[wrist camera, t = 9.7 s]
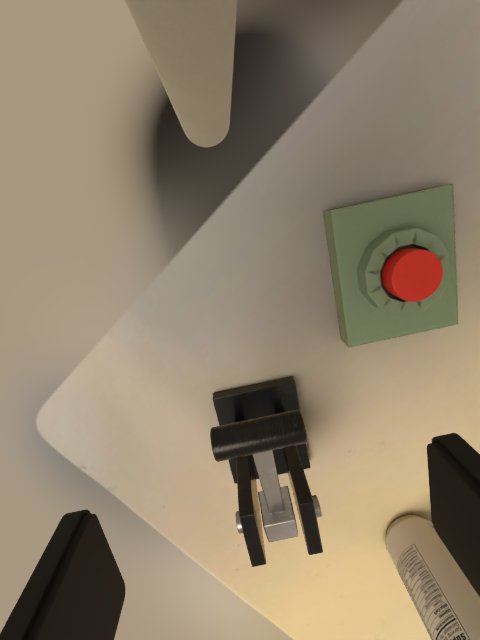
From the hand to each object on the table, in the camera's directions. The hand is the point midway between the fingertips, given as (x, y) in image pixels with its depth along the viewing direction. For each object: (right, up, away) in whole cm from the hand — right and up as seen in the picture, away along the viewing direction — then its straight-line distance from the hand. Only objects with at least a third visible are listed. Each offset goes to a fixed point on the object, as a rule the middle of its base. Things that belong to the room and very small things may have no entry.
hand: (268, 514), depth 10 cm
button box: (+12, +10, +22) cm, 28 cm away
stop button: (+13, +9, +19) cm, 25 cm away
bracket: (+1, -6, +26) cm, 27 cm away
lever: (+1, -4, +14) cm, 14 cm away
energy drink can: (+18, -19, +31) cm, 41 cm away
